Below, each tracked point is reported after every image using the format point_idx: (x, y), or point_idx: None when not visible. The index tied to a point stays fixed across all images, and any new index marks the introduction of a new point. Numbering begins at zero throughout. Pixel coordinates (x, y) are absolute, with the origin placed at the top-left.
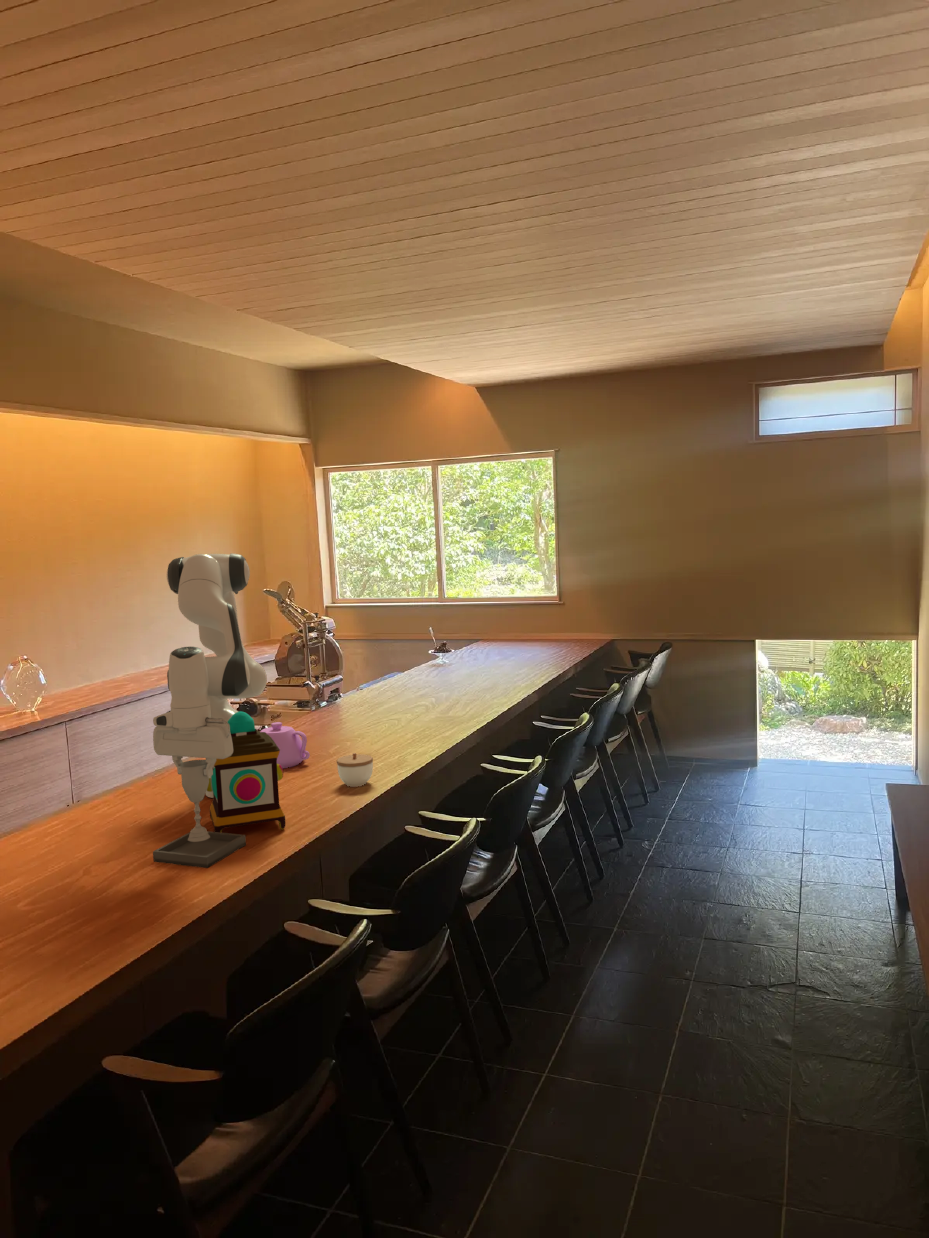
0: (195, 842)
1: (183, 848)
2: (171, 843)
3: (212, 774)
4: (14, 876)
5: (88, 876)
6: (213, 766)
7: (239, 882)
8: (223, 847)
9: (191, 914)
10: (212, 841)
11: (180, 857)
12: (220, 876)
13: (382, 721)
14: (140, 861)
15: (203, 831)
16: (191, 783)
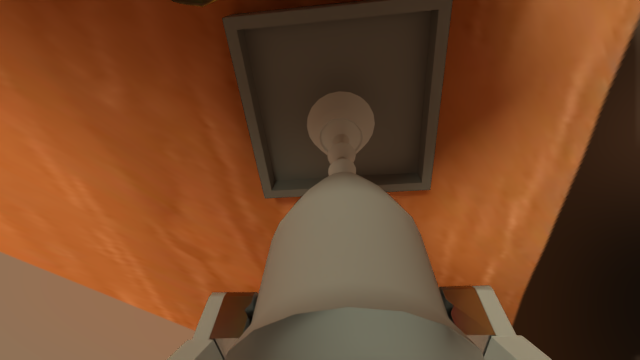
0: (278, 63)
1: (284, 114)
2: (261, 143)
3: (487, 286)
4: (103, 290)
5: (216, 262)
6: (531, 343)
7: (541, 210)
8: (437, 123)
9: (505, 308)
10: (324, 34)
11: None
12: (481, 199)
13: None
14: (238, 189)
15: (366, 139)
16: (374, 318)
